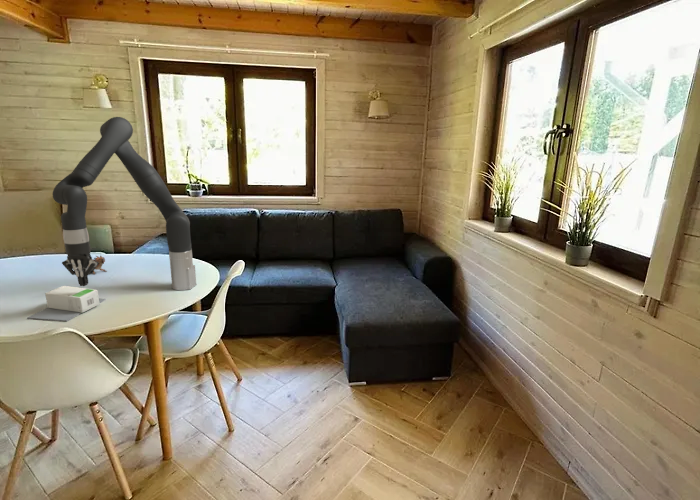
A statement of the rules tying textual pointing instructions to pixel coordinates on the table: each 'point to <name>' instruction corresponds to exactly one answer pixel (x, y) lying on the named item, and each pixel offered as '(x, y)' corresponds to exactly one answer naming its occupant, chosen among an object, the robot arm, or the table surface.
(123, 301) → the table surface
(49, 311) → the slate mat
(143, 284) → the table surface
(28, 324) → the table surface
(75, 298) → the skincare box
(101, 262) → the dinosaur figurine
